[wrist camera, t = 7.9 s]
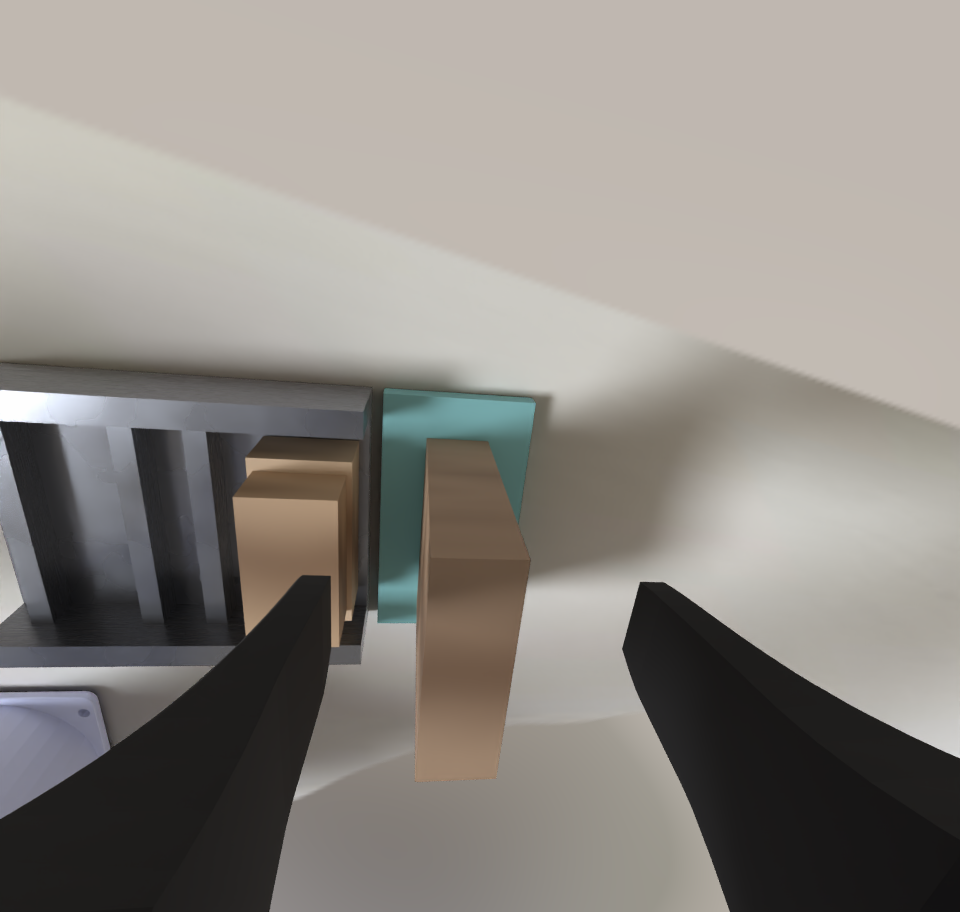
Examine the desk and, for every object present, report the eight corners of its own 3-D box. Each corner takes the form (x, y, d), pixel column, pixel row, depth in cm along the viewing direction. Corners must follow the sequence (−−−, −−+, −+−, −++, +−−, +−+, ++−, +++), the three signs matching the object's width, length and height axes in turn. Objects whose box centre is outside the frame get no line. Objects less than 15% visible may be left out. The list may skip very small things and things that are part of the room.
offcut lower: (358, 587, 22) (351, 620, 20) (273, 586, 22) (258, 620, 20) (359, 441, 20) (352, 462, 18) (263, 436, 19) (245, 457, 17)
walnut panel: (470, 601, 23) (495, 778, 15) (416, 601, 23) (414, 781, 15) (488, 441, 20) (530, 560, 12) (426, 438, 20) (430, 558, 12)
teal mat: (501, 612, 25) (504, 623, 24) (378, 611, 24) (377, 623, 23) (531, 397, 21) (535, 403, 20) (384, 388, 20) (383, 393, 19)
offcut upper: (346, 610, 20) (339, 647, 18) (263, 610, 20) (247, 647, 18) (346, 475, 18) (337, 500, 16) (252, 471, 17) (232, 497, 16)
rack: (368, 611, 24) (360, 664, 21) (42, 610, 22) (-19, 667, 19) (372, 387, 20) (363, 411, 17) (-27, 360, 18) (-119, 383, 15)
